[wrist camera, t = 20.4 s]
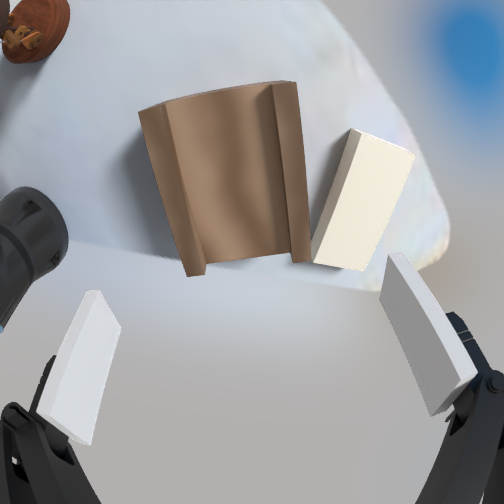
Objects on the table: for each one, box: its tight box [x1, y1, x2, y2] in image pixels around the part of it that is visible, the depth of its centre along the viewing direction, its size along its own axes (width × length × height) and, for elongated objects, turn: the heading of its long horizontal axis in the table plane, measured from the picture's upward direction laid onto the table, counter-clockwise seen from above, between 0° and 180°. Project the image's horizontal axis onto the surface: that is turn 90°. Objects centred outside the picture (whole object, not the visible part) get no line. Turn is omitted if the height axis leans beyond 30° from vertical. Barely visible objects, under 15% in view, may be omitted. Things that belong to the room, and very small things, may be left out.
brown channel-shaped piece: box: [138, 80, 311, 277], centre depth 31 cm, size 14×18×10 cm
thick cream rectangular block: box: [311, 128, 416, 272], centre depth 37 cm, size 8×18×4 cm, turn 167°
